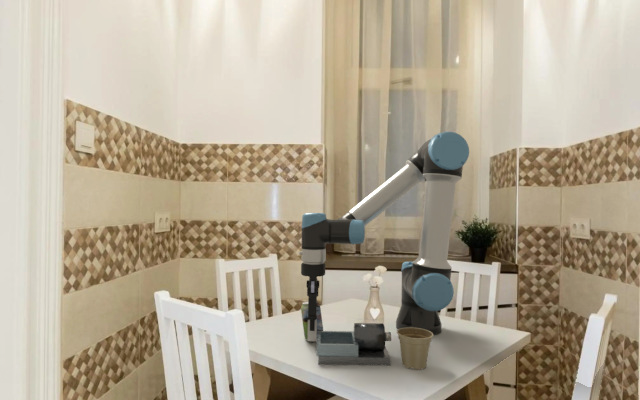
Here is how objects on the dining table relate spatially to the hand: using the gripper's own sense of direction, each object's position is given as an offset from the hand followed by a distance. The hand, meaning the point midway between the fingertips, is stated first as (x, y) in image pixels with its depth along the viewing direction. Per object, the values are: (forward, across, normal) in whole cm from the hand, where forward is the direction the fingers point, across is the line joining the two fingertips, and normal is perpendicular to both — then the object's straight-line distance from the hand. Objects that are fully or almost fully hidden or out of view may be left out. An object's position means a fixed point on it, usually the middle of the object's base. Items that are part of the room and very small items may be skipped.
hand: (312, 336), depth 127 cm
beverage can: (+1, 0, 0) cm, 1 cm away
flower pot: (+1, +19, +27) cm, 33 cm away
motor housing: (+1, +13, +12) cm, 17 cm away
